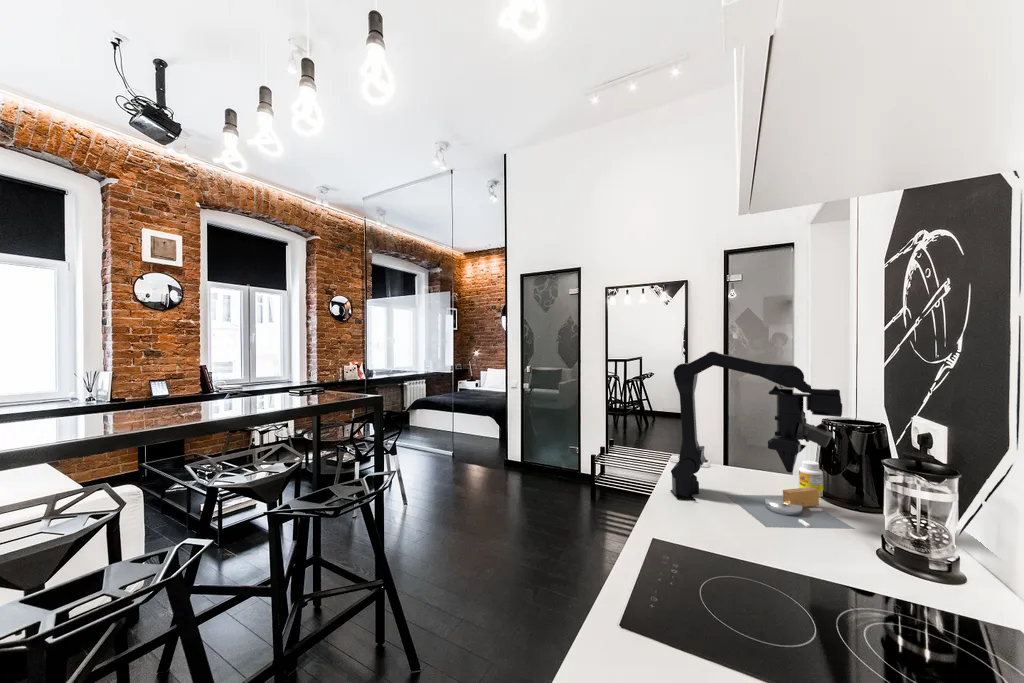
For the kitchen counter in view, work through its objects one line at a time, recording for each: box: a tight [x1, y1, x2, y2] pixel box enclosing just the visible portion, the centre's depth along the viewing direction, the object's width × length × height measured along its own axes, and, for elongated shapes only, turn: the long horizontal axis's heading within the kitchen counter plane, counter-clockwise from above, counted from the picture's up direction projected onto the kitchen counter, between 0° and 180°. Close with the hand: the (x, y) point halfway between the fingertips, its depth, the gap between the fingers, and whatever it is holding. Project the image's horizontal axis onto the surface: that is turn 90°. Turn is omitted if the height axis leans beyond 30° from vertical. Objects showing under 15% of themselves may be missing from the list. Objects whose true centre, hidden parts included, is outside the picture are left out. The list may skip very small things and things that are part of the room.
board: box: [726, 494, 856, 529], centre depth 101 cm, size 20×20×2 cm
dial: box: [765, 487, 820, 516], centre depth 101 cm, size 14×8×5 cm, turn 100°
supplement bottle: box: [798, 459, 824, 498], centre depth 111 cm, size 6×6×10 cm
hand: (789, 472), depth 100 cm, fingers closed
